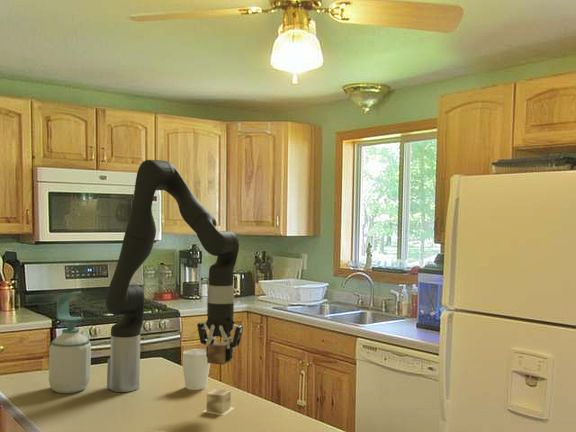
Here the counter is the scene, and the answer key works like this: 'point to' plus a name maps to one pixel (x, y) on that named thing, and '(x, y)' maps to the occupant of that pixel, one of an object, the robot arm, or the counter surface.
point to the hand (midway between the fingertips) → (219, 360)
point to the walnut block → (217, 353)
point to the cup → (195, 369)
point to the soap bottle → (69, 353)
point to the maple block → (218, 400)
